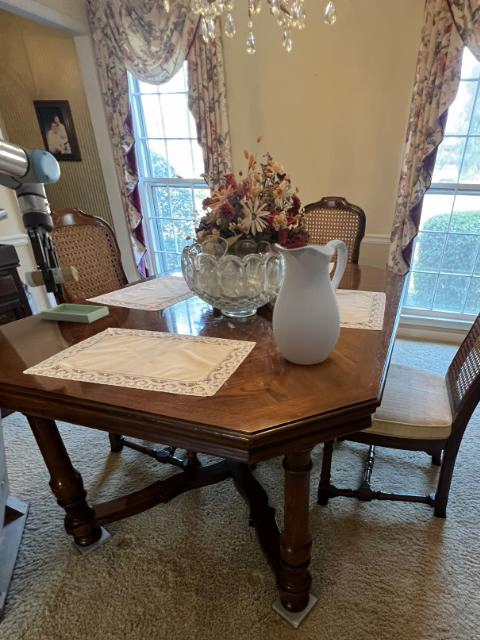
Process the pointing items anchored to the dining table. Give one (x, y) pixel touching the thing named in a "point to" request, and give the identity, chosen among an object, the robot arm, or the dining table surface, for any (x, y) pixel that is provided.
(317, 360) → the pitcher
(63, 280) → the sprinkles bottle
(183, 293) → the dining table surface
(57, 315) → the tray
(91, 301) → the dining table surface
